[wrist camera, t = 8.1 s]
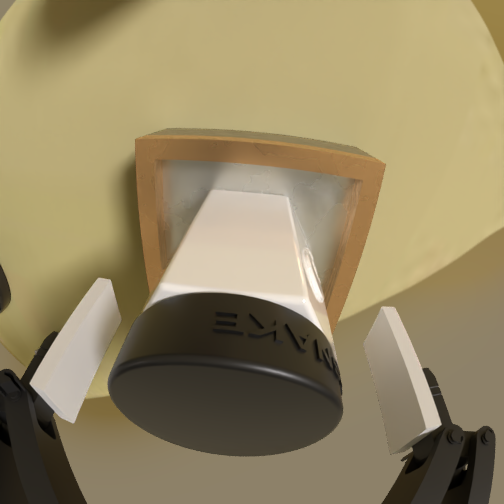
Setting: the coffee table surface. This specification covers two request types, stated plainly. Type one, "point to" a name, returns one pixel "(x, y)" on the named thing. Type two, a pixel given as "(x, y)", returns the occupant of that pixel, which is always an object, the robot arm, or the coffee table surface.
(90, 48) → the coffee table surface
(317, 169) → the small square box
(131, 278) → the coffee table surface
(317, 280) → the jar
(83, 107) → the coffee table surface
